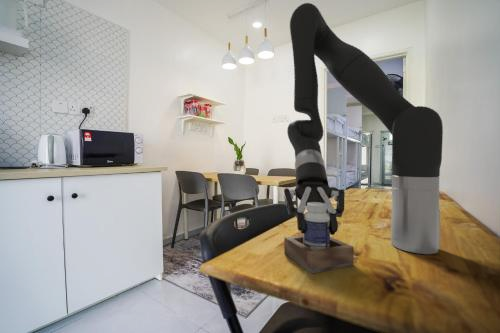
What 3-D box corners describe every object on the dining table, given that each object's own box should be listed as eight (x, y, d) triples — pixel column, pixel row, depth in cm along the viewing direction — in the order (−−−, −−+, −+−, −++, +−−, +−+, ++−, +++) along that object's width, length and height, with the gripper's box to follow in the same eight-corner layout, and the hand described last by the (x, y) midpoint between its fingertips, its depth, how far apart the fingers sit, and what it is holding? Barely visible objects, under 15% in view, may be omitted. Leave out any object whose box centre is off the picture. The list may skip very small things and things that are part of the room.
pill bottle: (333, 254, 45) (333, 206, 45) (306, 254, 46) (306, 206, 45) (325, 244, 51) (325, 201, 51) (301, 244, 51) (301, 201, 51)
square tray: (320, 247, 54) (320, 232, 54) (353, 264, 45) (353, 246, 45) (284, 253, 51) (284, 237, 51) (311, 273, 42) (311, 254, 41)
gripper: (282, 160, 56) (283, 221, 44) (342, 161, 54) (359, 224, 43) (281, 180, 61) (282, 239, 50) (336, 181, 60) (350, 242, 48)
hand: (318, 232), depth 46 cm, fingers closed on pill bottle, 5 cm apart
